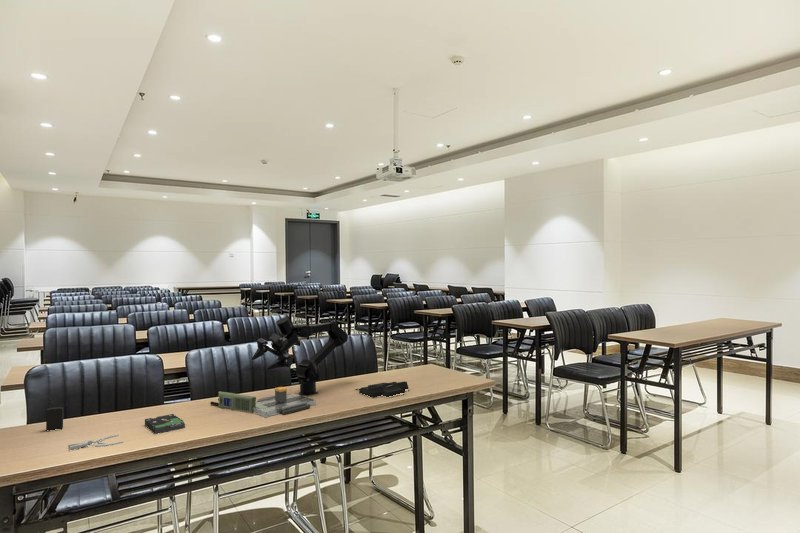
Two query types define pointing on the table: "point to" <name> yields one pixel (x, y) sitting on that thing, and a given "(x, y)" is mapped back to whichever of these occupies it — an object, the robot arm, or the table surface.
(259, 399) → the grey rounded rod
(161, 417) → the disk drive
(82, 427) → the table surface
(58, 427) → the ink cartridge
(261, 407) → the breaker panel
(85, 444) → the pliers
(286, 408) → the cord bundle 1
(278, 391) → the lever
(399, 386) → the electronic device
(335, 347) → the robot arm
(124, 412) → the table surface
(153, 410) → the table surface
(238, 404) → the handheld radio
